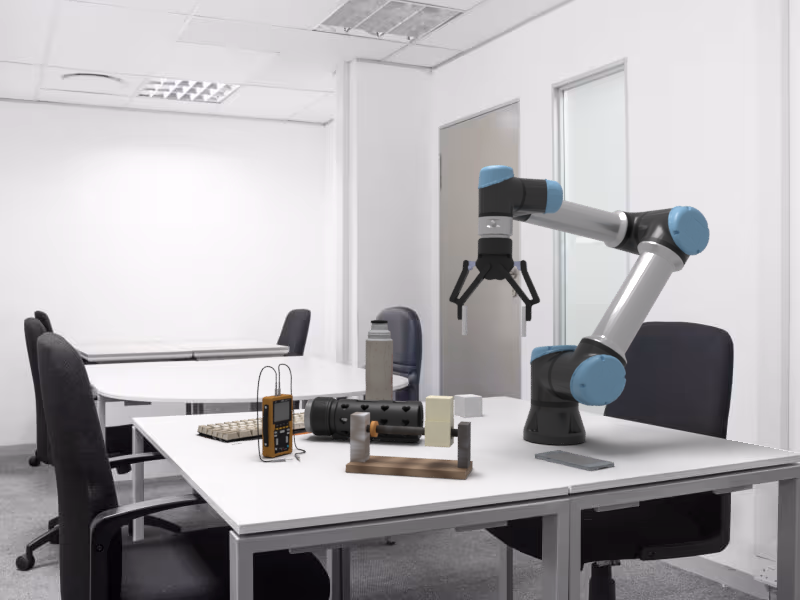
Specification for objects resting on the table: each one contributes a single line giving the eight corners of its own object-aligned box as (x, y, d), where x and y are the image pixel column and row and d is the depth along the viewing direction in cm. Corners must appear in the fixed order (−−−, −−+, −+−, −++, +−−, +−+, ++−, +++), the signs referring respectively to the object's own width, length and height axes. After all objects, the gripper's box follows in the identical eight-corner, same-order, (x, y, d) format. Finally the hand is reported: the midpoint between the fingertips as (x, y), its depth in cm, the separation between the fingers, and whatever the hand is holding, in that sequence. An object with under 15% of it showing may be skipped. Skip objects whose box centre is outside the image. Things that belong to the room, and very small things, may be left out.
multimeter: (286, 465, 161) (286, 368, 161) (249, 460, 167) (250, 366, 167) (329, 453, 174) (329, 363, 174) (294, 448, 179) (294, 361, 179)
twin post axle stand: (472, 468, 160) (472, 414, 160) (465, 479, 150) (465, 422, 150) (359, 461, 166) (360, 409, 166) (345, 472, 156) (346, 417, 156)
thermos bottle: (392, 414, 232) (393, 319, 232) (392, 418, 224) (392, 320, 224) (365, 414, 232) (366, 319, 232) (364, 418, 224) (365, 320, 224)
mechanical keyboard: (232, 447, 183) (232, 433, 183) (191, 437, 197) (191, 423, 197) (354, 429, 210) (354, 417, 210) (310, 421, 223) (310, 409, 223)
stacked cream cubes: (453, 442, 158) (454, 396, 158) (449, 447, 154) (450, 399, 154) (429, 441, 160) (429, 395, 160) (424, 446, 155) (424, 398, 155)
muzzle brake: (416, 447, 183) (417, 403, 183) (302, 441, 189) (302, 399, 188) (423, 439, 192) (424, 397, 192) (314, 434, 198) (314, 394, 198)
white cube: (454, 415, 231) (454, 395, 231) (471, 414, 234) (471, 394, 234) (464, 418, 226) (464, 397, 226) (482, 417, 228) (482, 396, 228)
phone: (589, 474, 158) (589, 467, 158) (532, 459, 171) (532, 454, 171) (616, 468, 163) (616, 462, 163) (558, 455, 176) (558, 449, 176)
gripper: (436, 236, 170) (435, 335, 171) (551, 235, 164) (549, 338, 165) (443, 239, 178) (442, 333, 178) (553, 238, 172) (551, 336, 172)
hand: (493, 336), depth 171 cm, fingers open, 12 cm apart
